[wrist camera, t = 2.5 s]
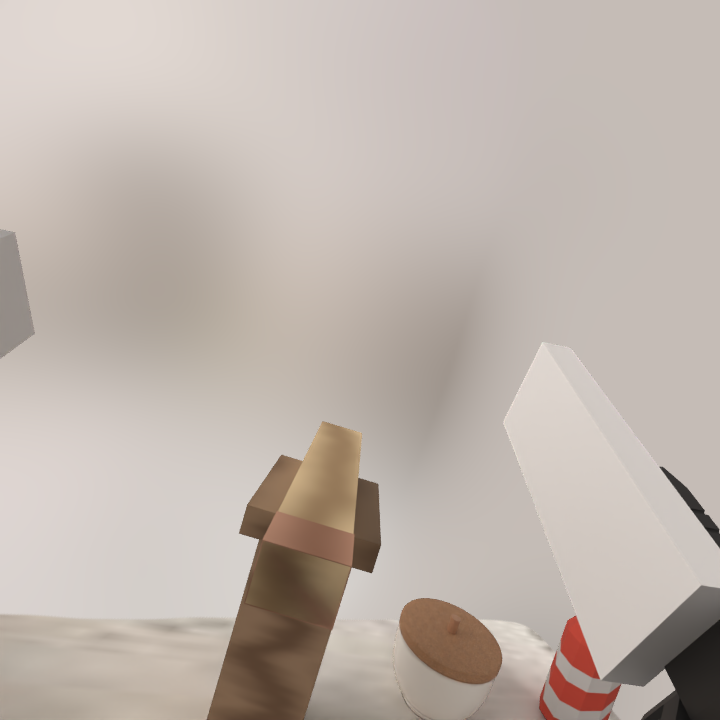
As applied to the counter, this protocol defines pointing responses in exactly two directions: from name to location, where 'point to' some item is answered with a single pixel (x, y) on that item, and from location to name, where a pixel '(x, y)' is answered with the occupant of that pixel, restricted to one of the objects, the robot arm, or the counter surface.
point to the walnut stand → (282, 619)
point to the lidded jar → (443, 660)
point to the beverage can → (576, 682)
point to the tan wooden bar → (312, 534)
